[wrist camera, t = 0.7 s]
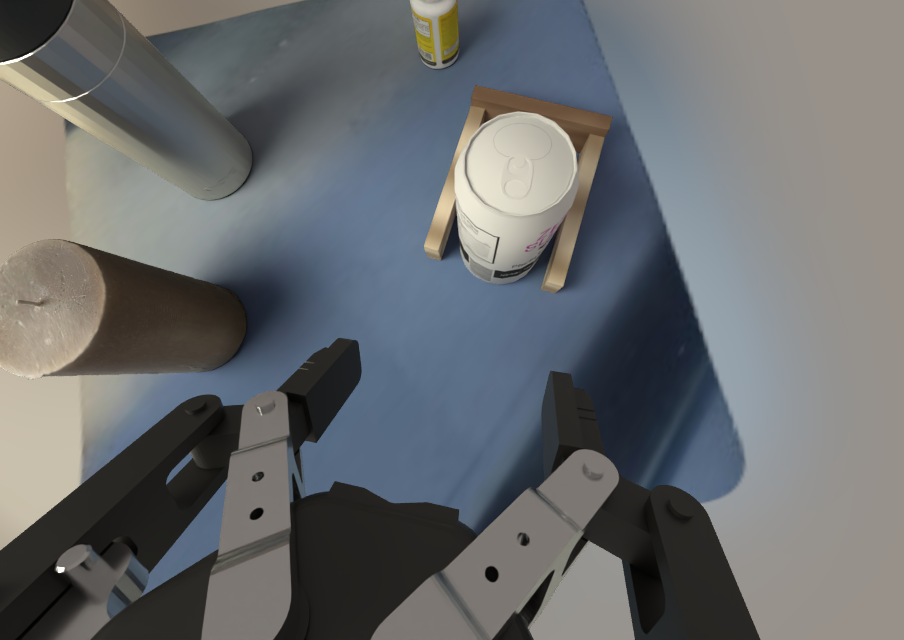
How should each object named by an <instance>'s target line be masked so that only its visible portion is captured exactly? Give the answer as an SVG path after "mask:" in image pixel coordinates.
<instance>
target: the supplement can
mask: <svg viewBox="0 0 904 640" xmlns="http://www.w3.org/2000/svg"><path fill="white" fill-rule="evenodd" d="M578 187H579V174H578V164H577V161H576V151H575V149H574V147H573V144H572V142H571V140H570V138H569V136H568V134H567V133H566V132H565V131H564V130H563V129H562V128H561V127H559V126H558V125H557V124H556V123H555V122H554V121H552V120H550V119H548V118H545V117H543V116H541V115H539V114H536V113H527V112H519V111H518V112H513V113H507V114H502V115H498V116H497V117H495V118H493V119H491V120H489V121H488V122H486V123H484V124H482V125H481V127H480V128H479V129H478V130H477V131H476V132H475V133H474V134H473V136H472V137H471V138H470V139H469V142H468V144H467V145H466V146H465V147H464V148H463V149H462V151H461V154H460V156H459V159H458V161H457V164H456V166H455V199H456V210H457V221H458V231H459V242H460V253H461V256H462V259H463V261H464V264H465V266H466V267H467V268H468V270H469V271H470V272H471V273H472V274H473V275H474V276H475V277H477V278H479V279H481V280H483V281H484V282H486V283H492V284H499V285H501V284H507V283H512V282H515V281H517V280H518V279H520V278H522V277H524V276H525V275H526V274H527V273H528V272H529V271H530V270H531V268H532V267H533V266H534V265H535V263H536V262H537V260H538V259H539V257H540V255H541V254H542V252H543V251H544V249H545V247H546V246H547V244H548V243H549V241H550V240H551V238H552V236H553V235H554V233H555V232H556V230H557V228H558V227H559V225H560V224H561V222H562V221H563V219H564V217H565V216H566V214H567V213H568V211H569V210H570V208H571V206H572V205H573V202H574V199H575V196H576V193H577V190H578Z"/></svg>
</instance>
